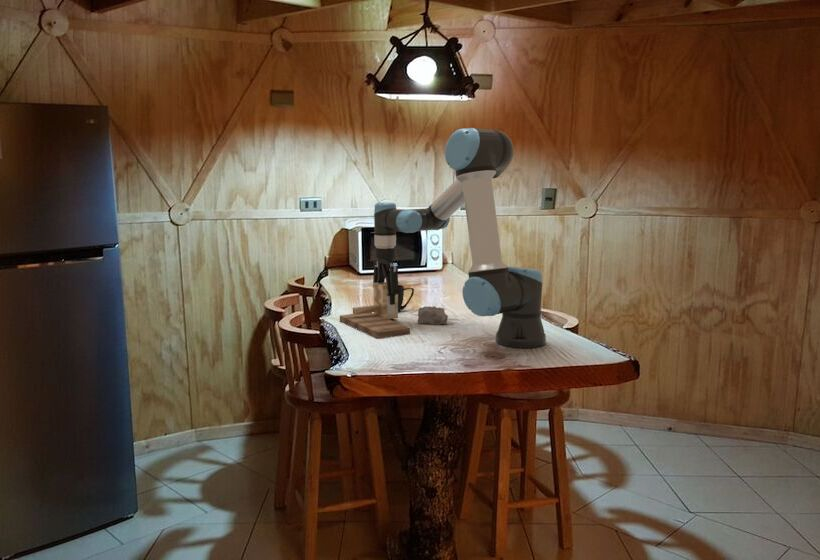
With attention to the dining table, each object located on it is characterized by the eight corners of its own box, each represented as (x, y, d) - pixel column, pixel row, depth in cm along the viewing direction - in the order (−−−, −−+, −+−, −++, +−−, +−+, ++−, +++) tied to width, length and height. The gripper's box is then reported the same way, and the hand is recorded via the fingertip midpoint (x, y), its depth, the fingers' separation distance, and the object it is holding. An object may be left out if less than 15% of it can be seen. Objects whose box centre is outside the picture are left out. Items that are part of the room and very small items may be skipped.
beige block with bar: (397, 317, 220) (397, 284, 218) (358, 323, 212) (358, 288, 210) (388, 314, 226) (388, 281, 224) (349, 319, 218) (349, 285, 216)
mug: (414, 313, 232) (414, 288, 231) (382, 313, 231) (382, 288, 230) (413, 308, 240) (413, 284, 239) (381, 308, 239) (381, 284, 238)
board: (410, 333, 202) (410, 327, 201) (377, 338, 195) (377, 332, 195) (370, 317, 225) (370, 311, 225) (339, 321, 219) (339, 315, 219)
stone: (421, 326, 212) (421, 310, 211) (415, 321, 219) (415, 305, 218) (449, 325, 214) (449, 308, 213) (442, 320, 222) (442, 304, 221)
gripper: (409, 249, 211) (409, 315, 215) (381, 243, 228) (381, 305, 232) (390, 250, 207) (390, 317, 211) (362, 245, 224) (363, 307, 228)
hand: (385, 311), depth 221 cm, fingers closed on beige block with bar, 7 cm apart
